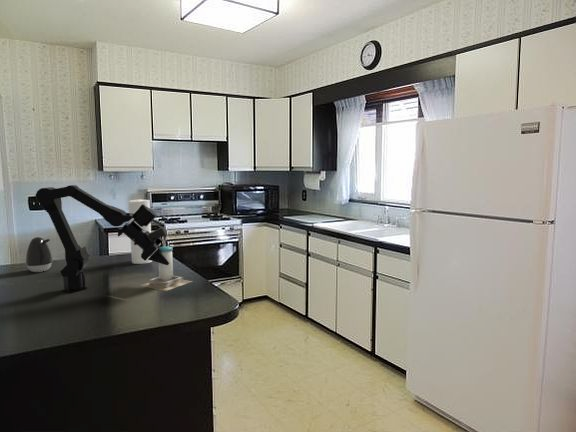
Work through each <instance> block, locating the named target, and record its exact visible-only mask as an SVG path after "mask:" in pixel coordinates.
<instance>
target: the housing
mask: <svg viewBox="0 0 576 432" xmlns="http://www.w3.org/2000/svg"><path fill="white" fill-rule="evenodd" d="M193 282H194V281H193V280H188V279H184V276H179V275H173V280H170V281H167V282H164V281H159V276H157V277H154V278H151V279H148V282H147V283H144V284H141V285H139V286H140V287H144V288H145V287H146V288H149V289H154V290H160V291H164V292H168V291H171V290H173V289H176V288H178V287H181V286H184V285H187V284H190V283H193Z"/></svg>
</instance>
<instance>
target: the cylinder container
mask: <svg viewBox="0 0 576 432" xmlns="http://www.w3.org/2000/svg"><path fill="white" fill-rule="evenodd" d="M143 204H144V205H145V206H147V207H148V208H150V209H151V202H150V199H141V198H140V199H132V200H128V211H129V212H128V213H133V214H134V213H135V212H136V211H137V210H138V209H139V208H140V206H141V205H143ZM133 220H134V218H133V219H131V220H130V221H129V224H130V223H131V222H132V221H133ZM134 222H135V221H134ZM135 223H136V222H135ZM151 223H152V222H151ZM151 223H150V224H149V225H148V226H147V227H146V226H143V227H141V226H140V225H139V226H140V227H141V228H142V229H143V230H144V231H145V232H146V231H149V232H150V233H151V232H152V224H151ZM136 224H137V223H136ZM137 225H138V224H137ZM130 250H131V264H135V265H137V264H139V265H141V264H149V263H152V262H153V261H151V260H148V259H147V260H146V261H145V260H143V259H142V258H141V254H142V251H143V250H142V249H141V248H140V247H139V246H138V245H134V242H133V241H132V240H131V239H130Z"/></svg>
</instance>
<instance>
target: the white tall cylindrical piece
mask: <svg viewBox="0 0 576 432" xmlns="http://www.w3.org/2000/svg"><path fill="white" fill-rule="evenodd" d="M158 248H159V247H158ZM173 248H174V247H173V246H169V245H167V246H166V245H165V246H164V245H163V247H160V252H161V254H162V255H163V256H164V257H165V258H166V260H167V261H168V262H169V264H168V265H164V264H161V263H158V277H159V281H164V282H167V281H170V280H173V276H174V264H173V263H174V262H173V260H174V259H173V250H174V249H173Z"/></svg>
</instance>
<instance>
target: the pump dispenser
mask: <svg viewBox="0 0 576 432" xmlns="http://www.w3.org/2000/svg"><path fill="white" fill-rule="evenodd" d="M48 242H50V239H49V238H47V239H44V238H43V237H39V236H36V237H33V238H32V239H31V240H30V241H29V244H28V246H27V249H26V254H25V265H26V267H27V269H28V271H30V272H32V273H43V271H44V272H46V271H48V270H49V269H50V268H51V267H52V263H53V256H52V252H51V250H50V249H51V248H50V247H49V245H48Z"/></svg>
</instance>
